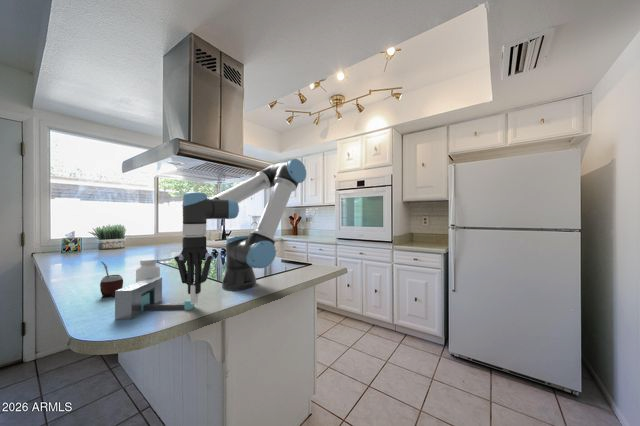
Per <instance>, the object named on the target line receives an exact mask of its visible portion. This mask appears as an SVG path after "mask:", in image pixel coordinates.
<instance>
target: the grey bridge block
mask: <svg viewBox="0 0 640 426" xmlns="http://www.w3.org/2000/svg"><path fill="white" fill-rule="evenodd" d="M142 293H150V304H160V303H161V302H162V301H163V277H160V278H147V279H144V280H141V281H139V282H136V281H135V283H131V284H129V285H126V286H123V287H122V288H121V289H119V290H116V291H115V295H114V296H115V297H114V320H133V319H134V318H135V317H137V316H139V315H141V314H142V312H141V294H142Z"/></svg>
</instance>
